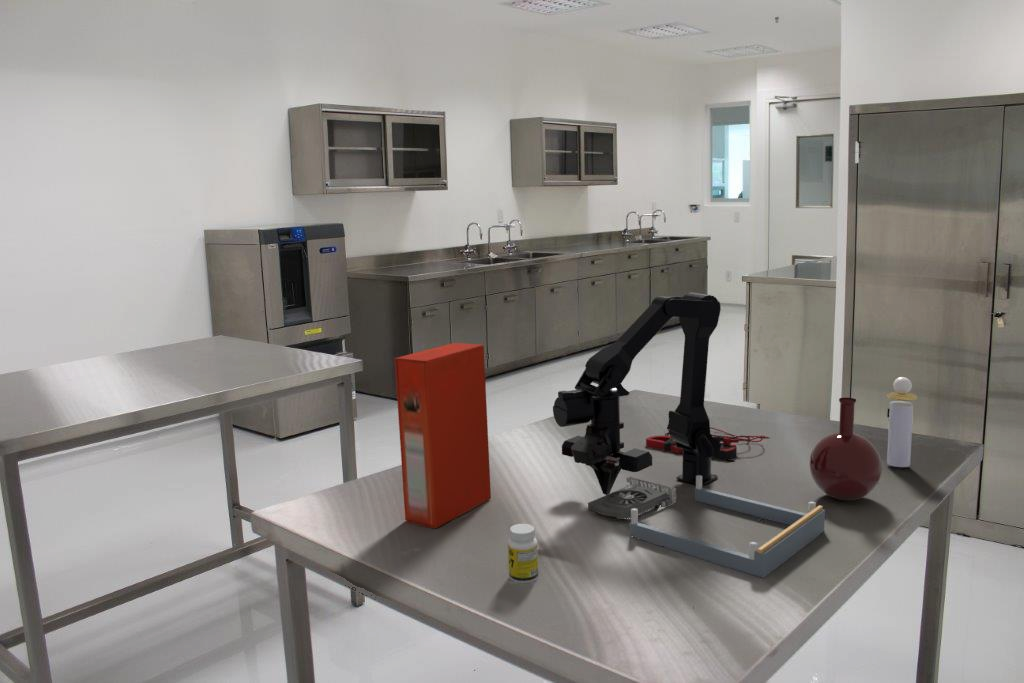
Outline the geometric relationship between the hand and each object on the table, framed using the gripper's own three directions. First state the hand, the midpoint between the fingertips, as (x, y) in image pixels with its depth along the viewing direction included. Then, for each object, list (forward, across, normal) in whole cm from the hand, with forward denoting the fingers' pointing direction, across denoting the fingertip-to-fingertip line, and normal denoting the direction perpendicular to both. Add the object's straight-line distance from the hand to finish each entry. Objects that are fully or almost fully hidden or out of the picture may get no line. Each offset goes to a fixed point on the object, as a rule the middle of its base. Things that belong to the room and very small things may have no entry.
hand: (606, 494), depth 164 cm
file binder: (+1, -21, -24) cm, 32 cm away
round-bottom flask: (+1, +36, +29) cm, 46 cm away
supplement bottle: (+1, +10, -36) cm, 38 cm away
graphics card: (+2, +6, -1) cm, 6 cm away
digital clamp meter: (+2, -3, +45) cm, 45 cm away
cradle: (+1, +26, 0) cm, 26 cm away
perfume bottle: (+1, +38, +54) cm, 66 cm away
